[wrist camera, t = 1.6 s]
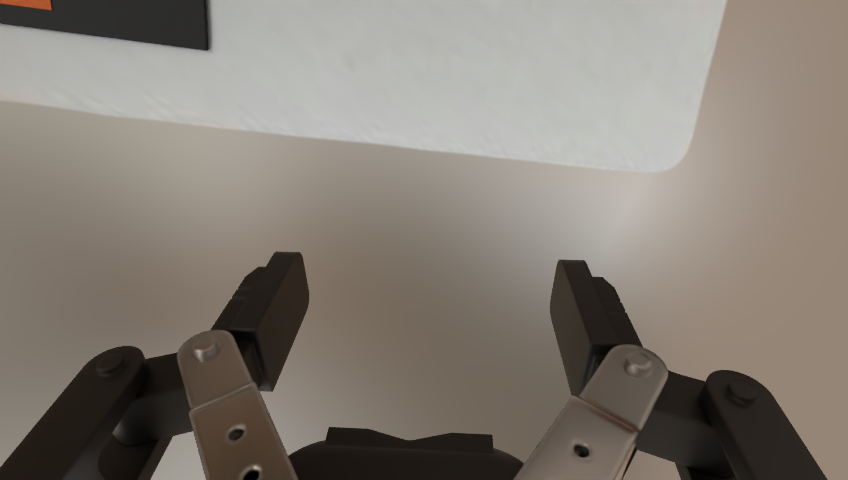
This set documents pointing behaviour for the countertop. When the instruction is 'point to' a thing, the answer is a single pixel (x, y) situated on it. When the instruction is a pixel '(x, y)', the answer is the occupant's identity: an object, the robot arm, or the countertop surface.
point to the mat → (116, 19)
